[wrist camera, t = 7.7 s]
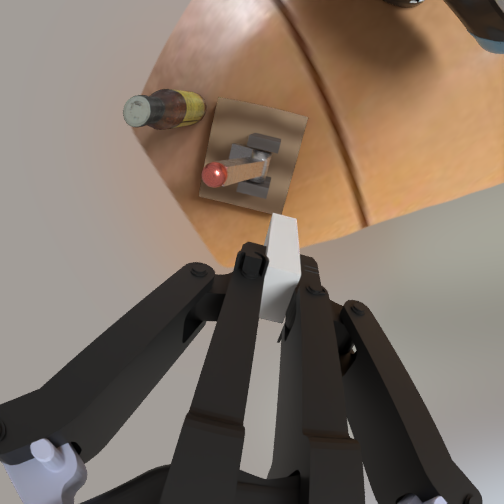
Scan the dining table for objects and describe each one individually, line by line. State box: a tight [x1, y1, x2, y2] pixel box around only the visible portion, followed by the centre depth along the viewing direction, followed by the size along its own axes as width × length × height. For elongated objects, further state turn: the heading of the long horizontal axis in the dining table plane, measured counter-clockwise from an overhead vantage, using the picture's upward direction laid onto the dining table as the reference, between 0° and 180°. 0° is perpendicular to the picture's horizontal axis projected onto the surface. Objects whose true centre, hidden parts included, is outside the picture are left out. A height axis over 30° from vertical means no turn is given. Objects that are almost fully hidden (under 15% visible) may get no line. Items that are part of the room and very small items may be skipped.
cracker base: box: [199, 97, 308, 215], centre depth 43 cm, size 18×15×12 cm
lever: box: [202, 143, 272, 188], centre depth 36 cm, size 4×7×16 cm, turn 77°
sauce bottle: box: [123, 89, 206, 130], centre depth 37 cm, size 7×6×20 cm
